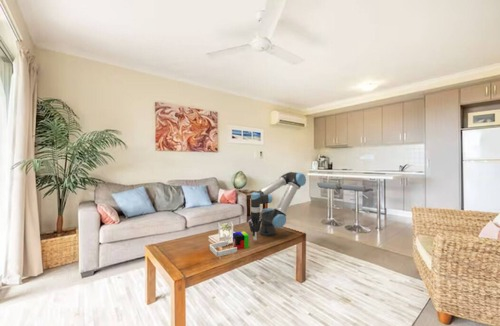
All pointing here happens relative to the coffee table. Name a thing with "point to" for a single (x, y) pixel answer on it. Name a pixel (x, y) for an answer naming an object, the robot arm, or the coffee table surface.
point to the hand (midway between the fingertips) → (254, 239)
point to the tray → (223, 252)
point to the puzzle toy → (241, 240)
